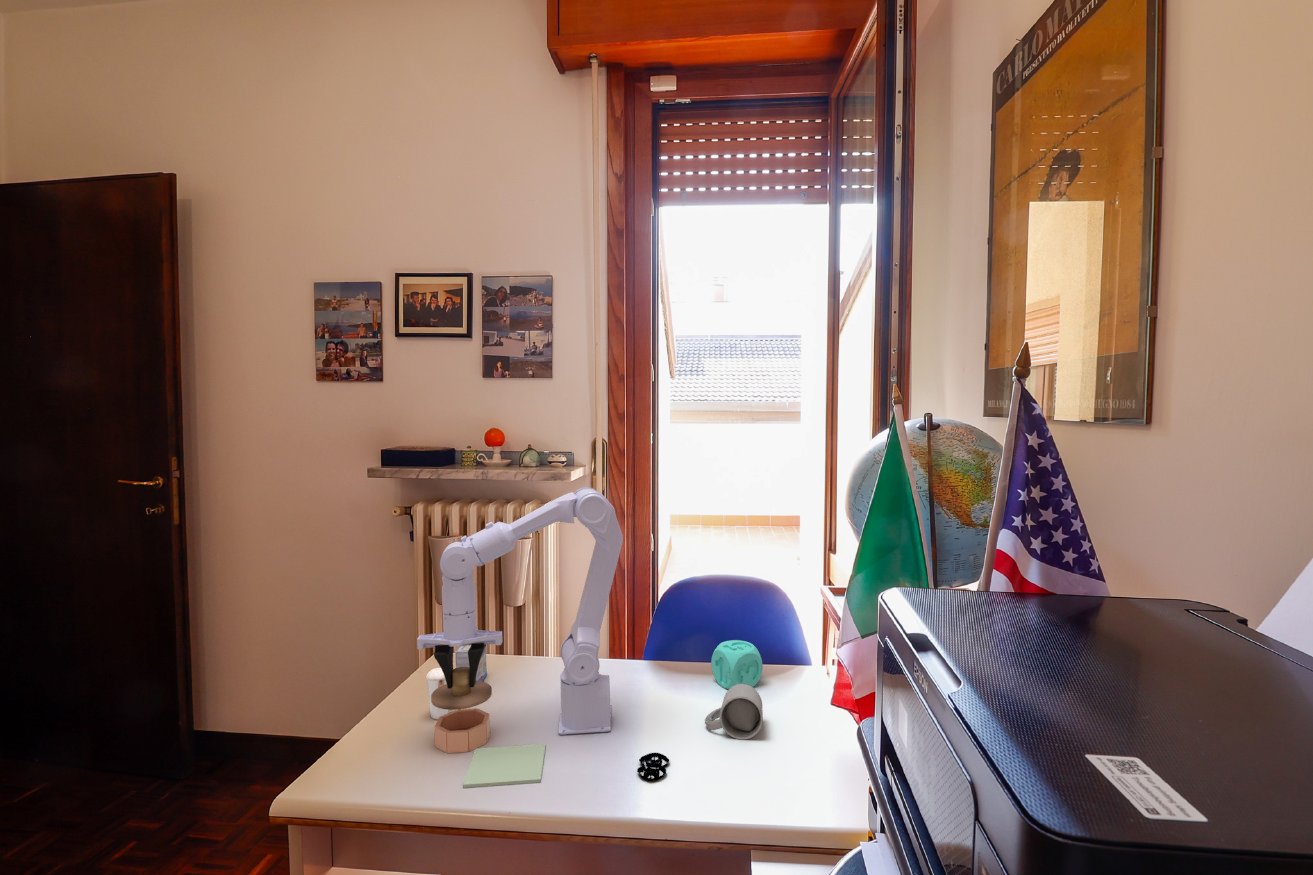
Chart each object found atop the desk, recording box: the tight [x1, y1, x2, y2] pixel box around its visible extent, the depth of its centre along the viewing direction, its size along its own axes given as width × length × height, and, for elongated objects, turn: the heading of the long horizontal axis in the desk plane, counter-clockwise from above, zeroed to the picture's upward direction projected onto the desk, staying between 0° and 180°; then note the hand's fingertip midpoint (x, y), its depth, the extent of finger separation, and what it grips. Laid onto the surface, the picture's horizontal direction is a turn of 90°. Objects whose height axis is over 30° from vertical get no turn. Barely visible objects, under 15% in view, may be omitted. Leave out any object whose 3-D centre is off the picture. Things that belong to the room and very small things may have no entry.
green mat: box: [462, 743, 547, 789], centre depth 106 cm, size 12×11×1 cm
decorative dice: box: [710, 639, 764, 691], centre depth 138 cm, size 8×8×8 cm
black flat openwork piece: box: [636, 752, 670, 783], centre depth 105 cm, size 5×8×1 cm, turn 173°
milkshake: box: [425, 667, 450, 720], centre depth 125 cm, size 4×5×10 cm
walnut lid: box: [431, 667, 493, 711], centre depth 115 cm, size 10×10×5 cm
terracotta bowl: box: [433, 707, 491, 754], centre depth 115 cm, size 9×9×4 cm
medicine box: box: [454, 645, 488, 682], centre depth 140 cm, size 8×4×9 cm, turn 179°
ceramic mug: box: [704, 684, 764, 740], centre depth 118 cm, size 11×8×8 cm
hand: (461, 685), depth 115 cm, fingers closed on walnut lid, 3 cm apart
